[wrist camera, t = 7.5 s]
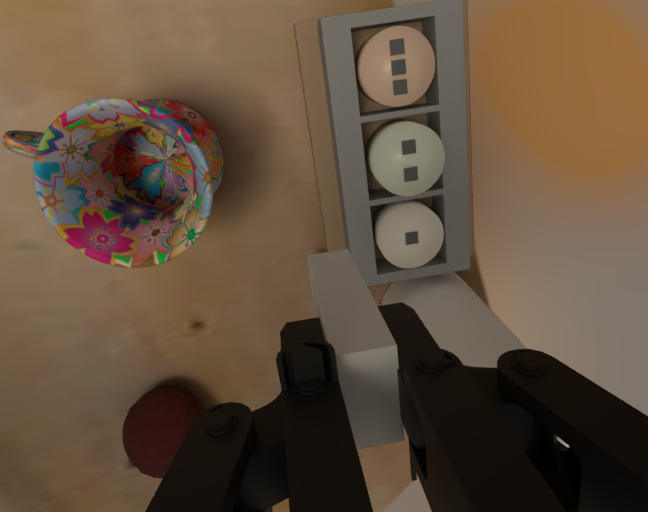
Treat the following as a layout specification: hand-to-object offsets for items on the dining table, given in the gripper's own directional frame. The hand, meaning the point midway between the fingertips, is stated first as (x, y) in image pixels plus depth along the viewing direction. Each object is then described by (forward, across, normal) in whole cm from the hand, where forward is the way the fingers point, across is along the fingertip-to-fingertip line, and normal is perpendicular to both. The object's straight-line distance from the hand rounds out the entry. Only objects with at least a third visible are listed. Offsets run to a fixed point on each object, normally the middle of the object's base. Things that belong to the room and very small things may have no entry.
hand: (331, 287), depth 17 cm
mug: (+22, -10, +3) cm, 24 cm away
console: (+21, +8, +1) cm, 22 cm away
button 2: (+18, +8, +1) cm, 20 cm away
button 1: (+19, +8, -5) cm, 21 cm away
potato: (+22, -14, -20) cm, 32 cm away
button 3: (+19, +7, +7) cm, 22 cm away
